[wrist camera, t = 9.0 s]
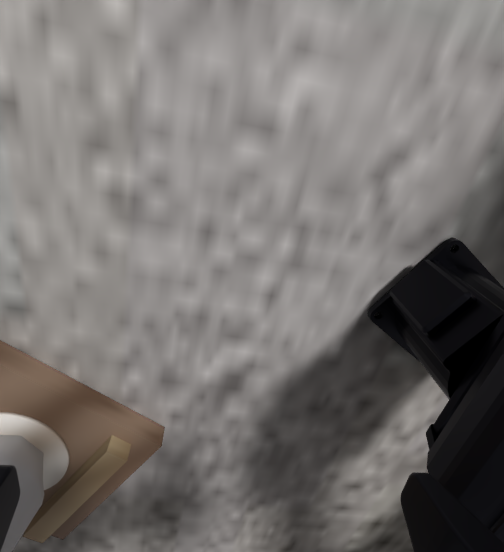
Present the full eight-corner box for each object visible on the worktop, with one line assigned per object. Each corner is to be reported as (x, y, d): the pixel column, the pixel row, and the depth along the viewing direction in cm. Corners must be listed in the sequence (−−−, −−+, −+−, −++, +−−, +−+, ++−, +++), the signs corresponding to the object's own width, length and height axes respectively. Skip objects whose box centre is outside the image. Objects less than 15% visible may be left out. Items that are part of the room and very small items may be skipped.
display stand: (164, 427, 25) (158, 462, 23) (70, 518, 29) (56, 557, 26) (-47, 315, 20) (-82, 345, 18) (-131, 441, 24) (-171, 480, 21)
